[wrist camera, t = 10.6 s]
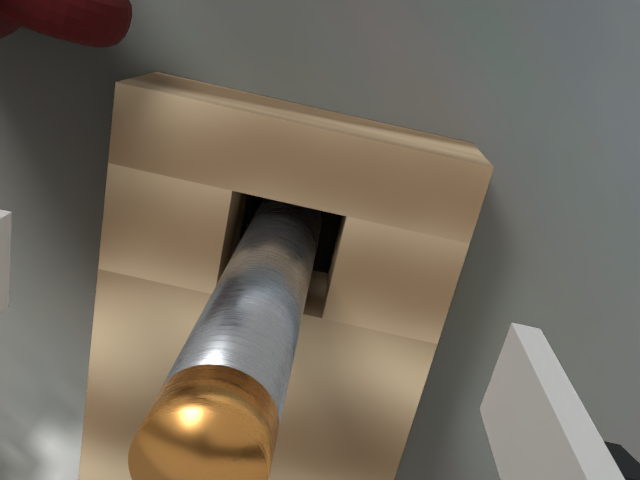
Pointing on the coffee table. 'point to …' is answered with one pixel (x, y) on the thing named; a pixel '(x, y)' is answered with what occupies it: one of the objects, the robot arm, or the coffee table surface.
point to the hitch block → (324, 288)
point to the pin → (235, 360)
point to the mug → (69, 19)
